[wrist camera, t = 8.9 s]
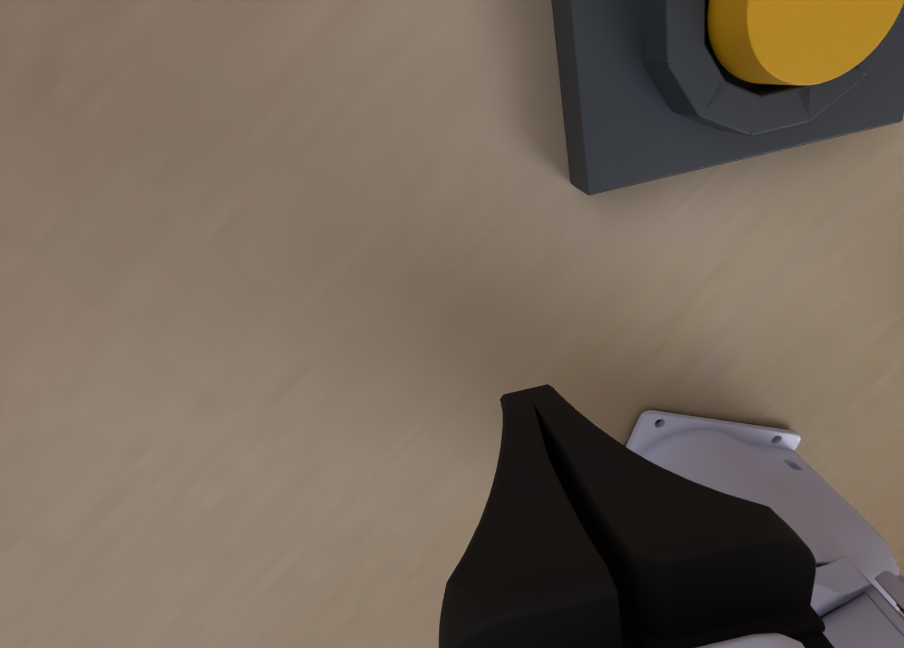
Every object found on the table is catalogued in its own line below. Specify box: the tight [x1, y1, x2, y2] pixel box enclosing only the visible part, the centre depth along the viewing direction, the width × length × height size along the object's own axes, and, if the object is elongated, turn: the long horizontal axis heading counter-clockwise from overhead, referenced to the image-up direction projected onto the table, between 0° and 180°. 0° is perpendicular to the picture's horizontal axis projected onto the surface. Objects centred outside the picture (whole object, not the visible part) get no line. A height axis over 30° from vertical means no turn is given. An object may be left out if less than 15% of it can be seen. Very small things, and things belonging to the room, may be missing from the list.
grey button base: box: [552, 0, 904, 195], centre depth 17 cm, size 12×10×4 cm
